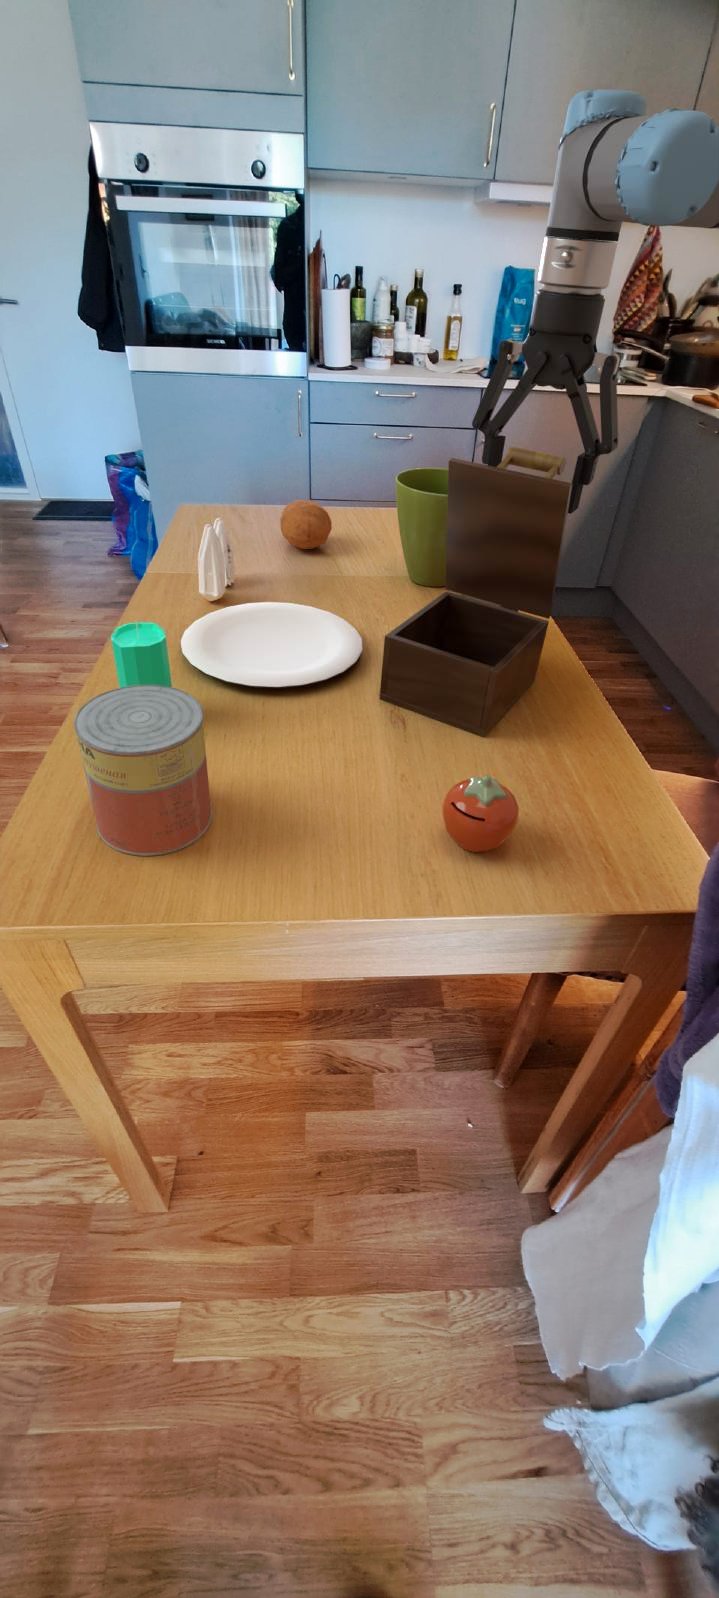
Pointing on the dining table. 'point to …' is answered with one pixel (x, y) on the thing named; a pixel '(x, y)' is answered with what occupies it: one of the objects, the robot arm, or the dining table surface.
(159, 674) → the candle
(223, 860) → the dining table surface
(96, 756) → the canned food
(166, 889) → the dining table surface
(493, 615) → the dark wooden box
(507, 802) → the tomato
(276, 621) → the plate
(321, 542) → the brown coconut
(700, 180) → the robot arm
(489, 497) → the lid
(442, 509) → the flower pot
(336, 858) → the dining table surface
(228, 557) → the shaker set
